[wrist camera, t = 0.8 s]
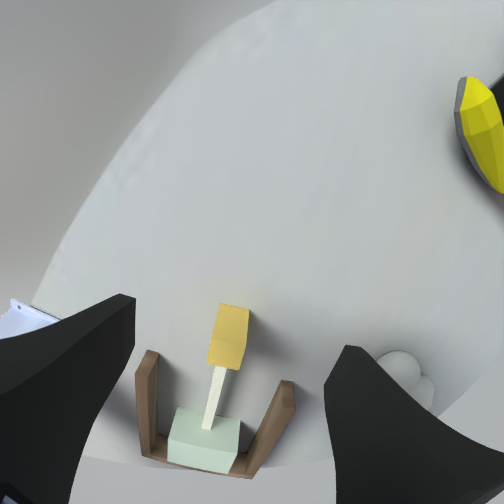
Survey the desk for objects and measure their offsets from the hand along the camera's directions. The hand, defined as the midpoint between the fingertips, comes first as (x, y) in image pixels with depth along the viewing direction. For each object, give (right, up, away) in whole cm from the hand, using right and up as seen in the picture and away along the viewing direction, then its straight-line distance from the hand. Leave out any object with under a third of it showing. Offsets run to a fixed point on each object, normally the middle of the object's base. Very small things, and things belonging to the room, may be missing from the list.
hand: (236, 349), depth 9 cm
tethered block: (-3, -8, +13) cm, 16 cm away
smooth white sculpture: (+13, -7, +13) cm, 20 cm away
